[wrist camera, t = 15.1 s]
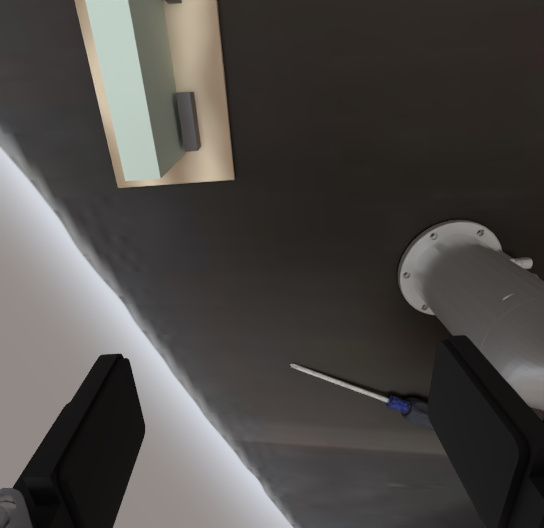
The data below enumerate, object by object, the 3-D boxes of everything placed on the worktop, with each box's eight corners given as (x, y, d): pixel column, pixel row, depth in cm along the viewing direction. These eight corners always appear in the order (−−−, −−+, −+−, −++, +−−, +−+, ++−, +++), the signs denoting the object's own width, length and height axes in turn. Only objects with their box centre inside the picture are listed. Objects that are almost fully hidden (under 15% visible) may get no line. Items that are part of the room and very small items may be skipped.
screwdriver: (284, 372, 52) (287, 392, 49) (295, 352, 51) (298, 371, 47) (437, 420, 58) (449, 440, 54) (451, 403, 57) (464, 423, 53)
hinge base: (205, -121, 30) (145, -418, 13) (234, 176, 40) (224, 242, 23) (55, -114, 30) (-221, -407, 12) (122, 184, 40) (23, 257, 22)
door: (151, -77, 30) (96, -172, 19) (185, 153, 38) (160, 178, 27) (104, -74, 30) (23, -169, 19) (148, 156, 38) (108, 182, 27)
